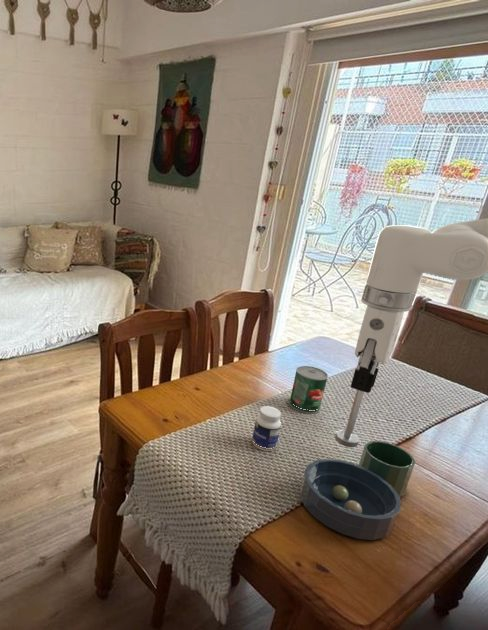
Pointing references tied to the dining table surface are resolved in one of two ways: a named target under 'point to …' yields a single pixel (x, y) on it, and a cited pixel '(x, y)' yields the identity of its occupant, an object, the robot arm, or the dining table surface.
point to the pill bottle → (267, 428)
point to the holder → (388, 463)
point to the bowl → (362, 488)
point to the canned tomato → (308, 389)
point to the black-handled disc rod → (351, 424)
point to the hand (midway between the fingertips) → (362, 386)
